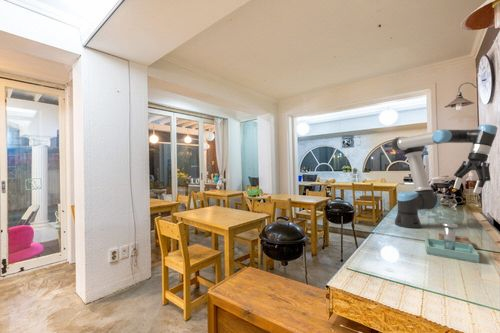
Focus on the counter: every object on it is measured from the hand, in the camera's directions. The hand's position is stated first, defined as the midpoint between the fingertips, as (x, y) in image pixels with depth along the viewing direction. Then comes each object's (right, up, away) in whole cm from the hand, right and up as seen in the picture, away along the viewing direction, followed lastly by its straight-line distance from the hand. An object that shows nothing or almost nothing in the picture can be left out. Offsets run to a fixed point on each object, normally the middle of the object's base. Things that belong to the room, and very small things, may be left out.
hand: (465, 190), depth 126 cm
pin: (-22, -28, -15) cm, 38 cm away
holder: (-9, -28, -3) cm, 30 cm away
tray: (-22, -29, -15) cm, 39 cm away
